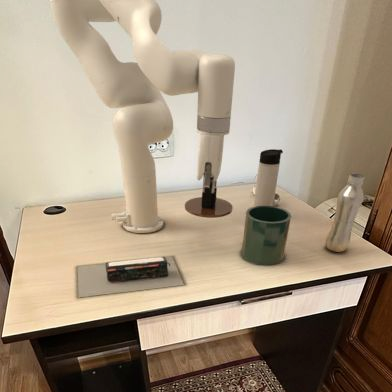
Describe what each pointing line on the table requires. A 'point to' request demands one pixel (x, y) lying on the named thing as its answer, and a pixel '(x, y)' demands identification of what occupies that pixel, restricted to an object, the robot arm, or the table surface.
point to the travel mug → (267, 177)
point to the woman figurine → (276, 198)
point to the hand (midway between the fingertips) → (208, 204)
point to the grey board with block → (127, 276)
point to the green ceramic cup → (265, 234)
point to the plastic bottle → (345, 213)
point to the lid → (219, 209)
